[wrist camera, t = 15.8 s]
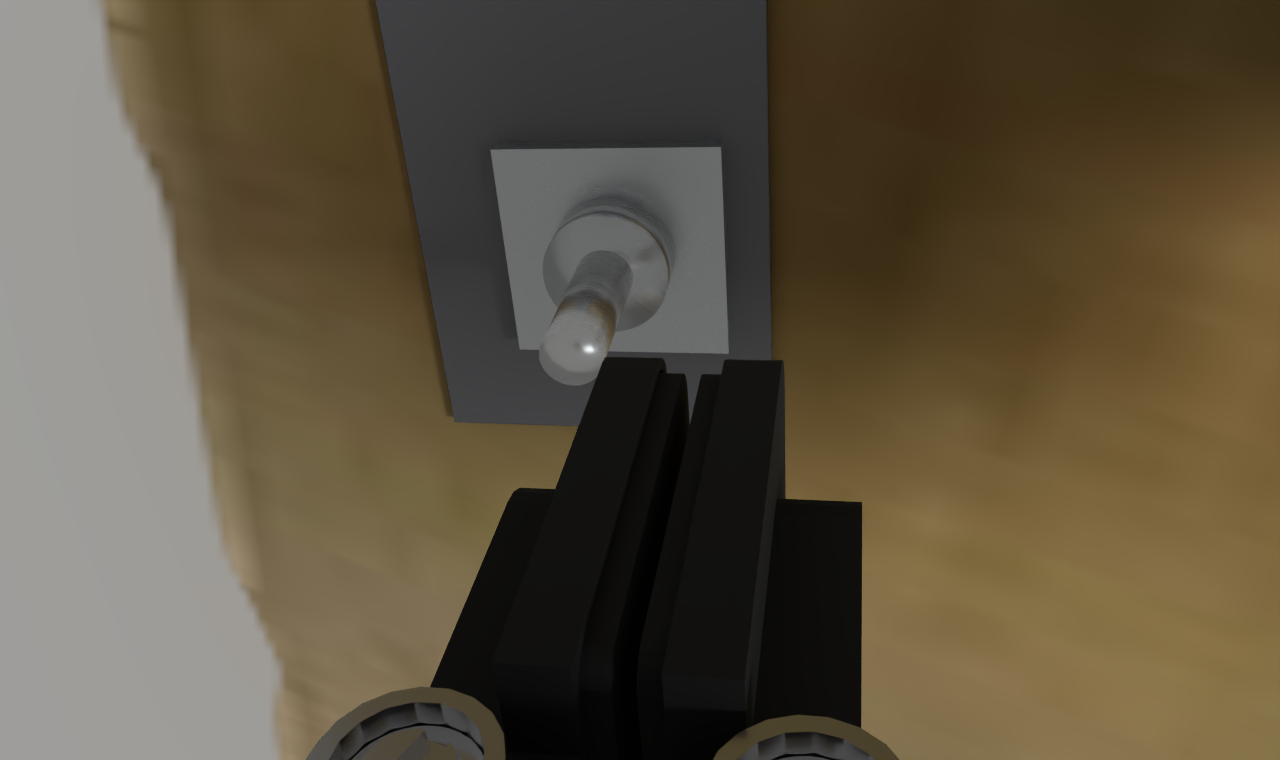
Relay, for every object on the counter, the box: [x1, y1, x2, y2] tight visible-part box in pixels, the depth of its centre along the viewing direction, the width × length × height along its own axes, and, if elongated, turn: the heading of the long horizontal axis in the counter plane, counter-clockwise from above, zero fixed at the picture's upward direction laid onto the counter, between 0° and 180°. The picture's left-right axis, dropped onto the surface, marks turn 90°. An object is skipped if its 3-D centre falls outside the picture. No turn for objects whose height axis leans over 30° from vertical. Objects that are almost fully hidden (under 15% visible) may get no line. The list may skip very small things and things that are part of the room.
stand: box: [490, 139, 731, 386], centre depth 39 cm, size 8×8×8 cm
